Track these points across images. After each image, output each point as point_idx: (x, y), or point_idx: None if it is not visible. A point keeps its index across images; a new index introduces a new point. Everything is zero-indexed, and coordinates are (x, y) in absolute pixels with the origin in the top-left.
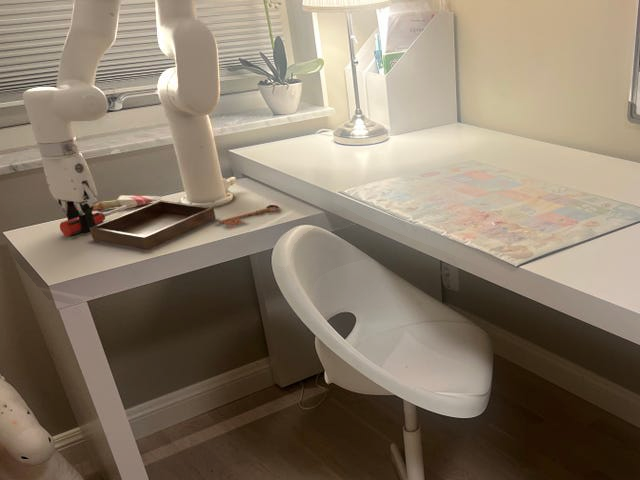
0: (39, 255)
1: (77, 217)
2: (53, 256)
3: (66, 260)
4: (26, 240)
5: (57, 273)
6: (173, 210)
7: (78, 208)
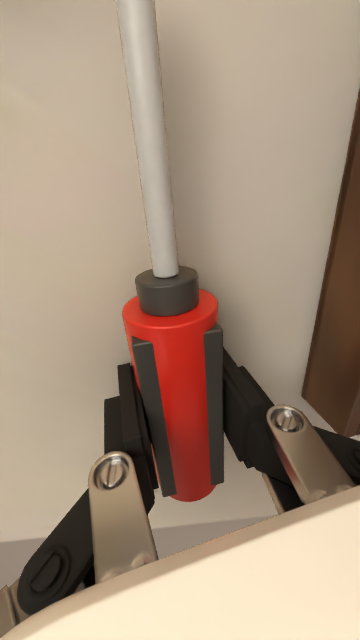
0: (232, 506)
1: (194, 444)
2: None
3: None
4: (59, 521)
5: None
6: None
7: (285, 506)
